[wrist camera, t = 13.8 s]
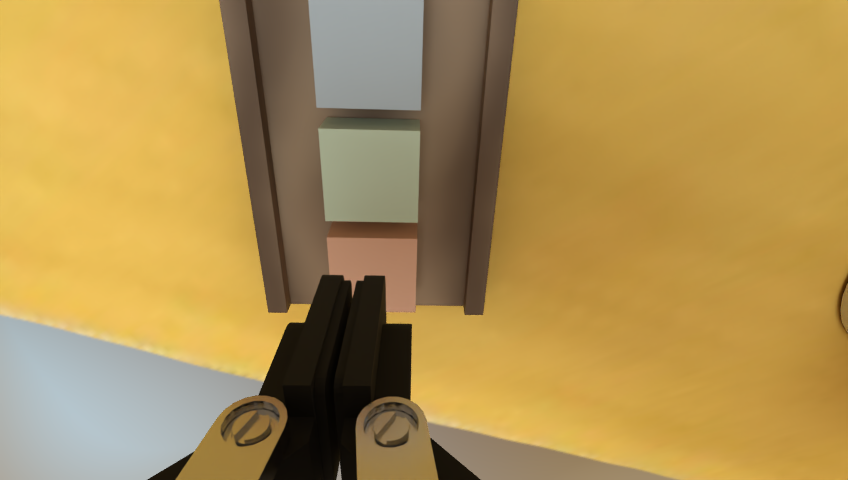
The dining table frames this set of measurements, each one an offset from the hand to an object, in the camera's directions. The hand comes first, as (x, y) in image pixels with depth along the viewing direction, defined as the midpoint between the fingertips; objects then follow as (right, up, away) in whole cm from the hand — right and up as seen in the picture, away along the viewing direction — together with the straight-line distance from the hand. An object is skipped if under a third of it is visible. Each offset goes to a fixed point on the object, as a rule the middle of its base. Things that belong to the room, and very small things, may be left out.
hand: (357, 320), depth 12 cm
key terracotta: (-1, +1, +16) cm, 16 cm away
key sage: (-1, +7, +13) cm, 15 cm away
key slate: (-1, +12, +11) cm, 16 cm away
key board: (-1, +7, +15) cm, 16 cm away
